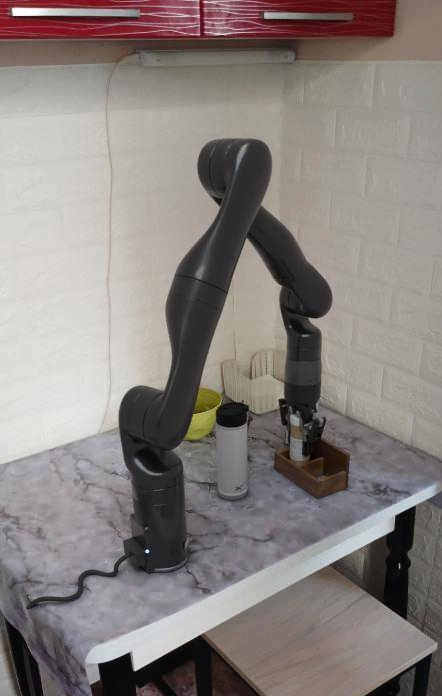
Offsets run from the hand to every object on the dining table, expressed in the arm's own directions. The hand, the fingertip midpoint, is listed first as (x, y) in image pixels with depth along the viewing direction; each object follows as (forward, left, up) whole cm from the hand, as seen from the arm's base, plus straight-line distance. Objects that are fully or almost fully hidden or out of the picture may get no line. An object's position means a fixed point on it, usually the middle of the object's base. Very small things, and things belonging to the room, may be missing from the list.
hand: (300, 450), depth 163 cm
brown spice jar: (0, 0, -5) cm, 5 cm away
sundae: (-8, +12, -5) cm, 16 cm away
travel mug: (-17, 0, -5) cm, 18 cm away
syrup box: (+8, +10, -5) cm, 14 cm away
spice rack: (0, -4, -5) cm, 6 cm away
